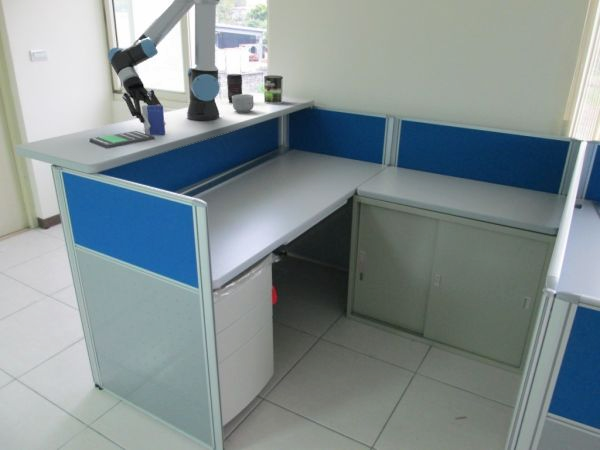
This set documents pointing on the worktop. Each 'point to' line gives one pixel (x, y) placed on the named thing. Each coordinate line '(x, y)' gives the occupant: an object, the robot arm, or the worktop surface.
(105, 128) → the worktop surface
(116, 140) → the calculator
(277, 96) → the coffee can
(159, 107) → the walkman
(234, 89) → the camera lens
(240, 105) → the teacup
